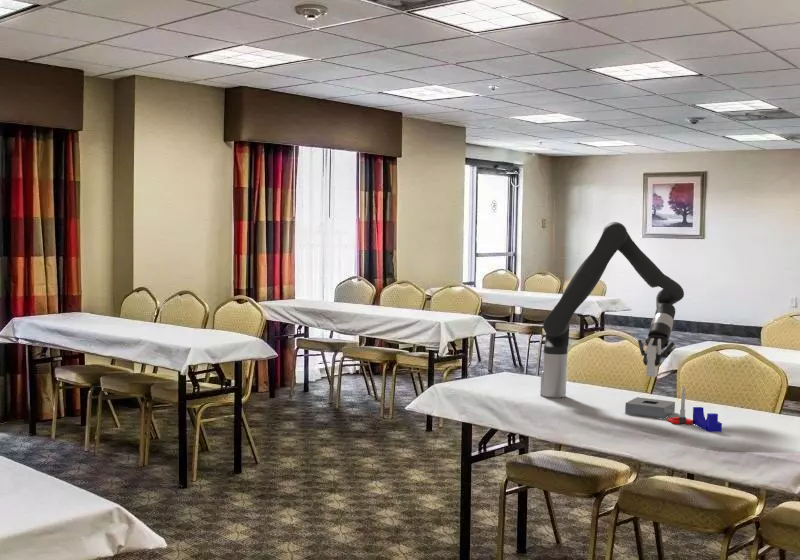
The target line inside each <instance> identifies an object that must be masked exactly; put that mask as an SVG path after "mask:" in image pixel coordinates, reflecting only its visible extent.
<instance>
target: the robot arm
mask: <svg viewBox="0 0 800 560" xmlns="http://www.w3.org/2000/svg"><path fill="white" fill-rule="evenodd" d="M617 251H618V252H619V253H621V254H622V255H623V256H624V258H625V259H627V261H628V262H629V264H630V265H631V267H632V268H634V270H635V272H636V273H637V274H638V275H639V276H640V277H641V278H642V280H643V281H644V282H645V283H646V284H647V285H648V286H649V287H650V288H653V289H654V288H661V290H659V292H658V293H657V295H656V297H655V298H656V299H655V300H656V301H655V304H656V305H655V307H656V309H655V313H654V316H653V318H652V320H651V323H650V328H649V330H648V335H647V337H646V338H645V339H644V340H641V339H638V340H637V342H638V348H639V351H640V354H641V355H640V356H641V357H642V356H643V359H642V361H643V364H644V366H647V348H646V349H645V350H644V348H645V346H648V345H656V346H658V355H657V356H656V359H655V366H658V367H659V365H660V364H661V361H662V358H664V359H667V358H668V357H669V355H671V354H672V352H673V351H674V350H675V348H676V346H675V343H674V341H672V342H671V341H669V340H670V336H671V333H672V330H673V326H674V325H673V324H674V319H675V316H676V308H675V306H674V305H675V304H677V303H678V302H680V301H681V300H683V298H684V297H685V296H684V295H685V293H684V288H683V287H682V286H681V284H679V283H678V282H677V281H675V280H674V279H672V278H671V277H669V276H668V275H666V274H664V273H663V271H661V269H660V267H658V266H657V265H656V264H655V262H653V261H652V260H651V259H650V258H649V257H648V256H647V255H646V254H645V253H644V252H643V250H641V249H640V248H639V246H638V245H637V244H636V242H635V241H634V240H633V239H632V237H631V235H630V234H629V233H628V230H627V228H626V226H625V225H624V224H622V223H621V222H618V221H612V222H609V223H608V224H606V225H605V226H604V228H603V231H602V233H601V235H600V238H599V240H598V241H597V243H596V245H595V247H594V248H593V250H592V251H591V253H590V254H589V255H588V256H587V257H586V258H585V260H584V261H582V263H581V264H580V266H579V267H578V268H577V270H576V272H575V273H574V274H573V276H572V277H571V280H570V281H569V283H568V284H567V286H566V288H565V290H564V291H563V293H562V296H561V297H560V298H559V301H558V302H557V304H556V305H555V306H554V307H553V309H552V310H551V311H550V312H549V313H548V315H546V317H545V318H544V321H543V324H542V327H543V331H544V332H545V342H544V345H543V361H542V362H543V365H542V371H541V372H540V389H539V390H540V392H539V393H540V396H543V397H545V398H551V399H552V398H554V399H555V398H557V399H558V398H559V399H560V398H561V397H562V398H566V397H565V396H567V394H566V393H567V392H566V391H567V369H568V368H567V367H568V348H569V342H570V341H569V340H570V321H571V319H572V318H573V315H574V314H575V312H576V311H577V309H578V308H579V307H581V305H582V304H583V302H585V300H586V299H588V297H589V296H590V295H591V294H592V292H593V291H594V289H595V288H596V286H597V285H598V283H599V281H600V280H601V278H602V276H603V274H604V273H605V271H606V269H607V266H608V264H609V263H610V261H611V259H612V258H613V257H614V255H615V254H616V253H617Z"/></svg>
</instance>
